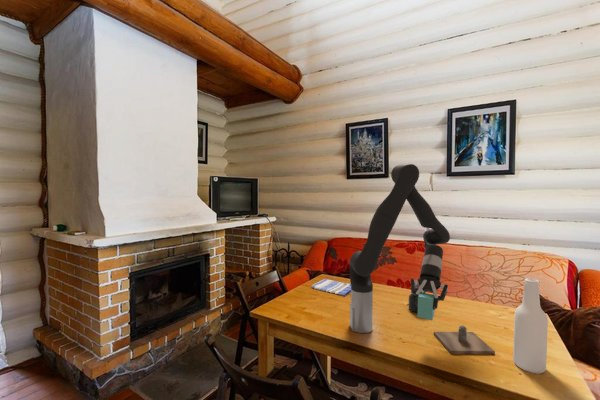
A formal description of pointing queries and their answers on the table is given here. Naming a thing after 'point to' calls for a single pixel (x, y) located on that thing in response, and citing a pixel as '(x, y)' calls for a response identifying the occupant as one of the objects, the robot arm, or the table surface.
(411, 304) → the ink bottle
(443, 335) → the post board
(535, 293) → the alcohol
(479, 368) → the table surface
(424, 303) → the tall teal pillar
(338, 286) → the dish towel
